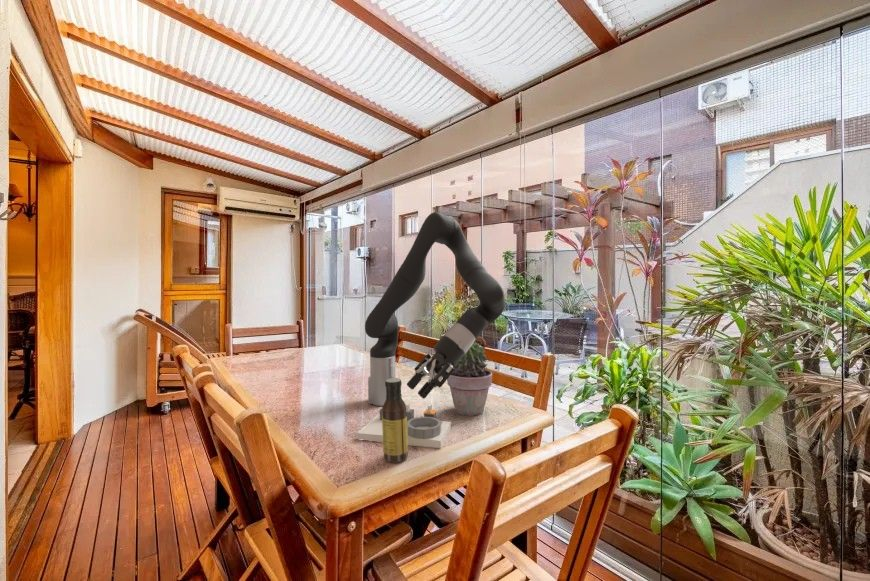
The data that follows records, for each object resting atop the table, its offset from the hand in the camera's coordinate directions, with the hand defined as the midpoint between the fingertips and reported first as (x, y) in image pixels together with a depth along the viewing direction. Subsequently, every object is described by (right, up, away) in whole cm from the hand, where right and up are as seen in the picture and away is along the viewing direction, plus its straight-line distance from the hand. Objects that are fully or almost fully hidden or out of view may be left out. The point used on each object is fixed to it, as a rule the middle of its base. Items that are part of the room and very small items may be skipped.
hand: (414, 391), depth 97 cm
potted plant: (+17, -16, +32) cm, 39 cm away
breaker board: (-3, -16, +13) cm, 21 cm away
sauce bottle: (-5, -16, -2) cm, 17 cm away
